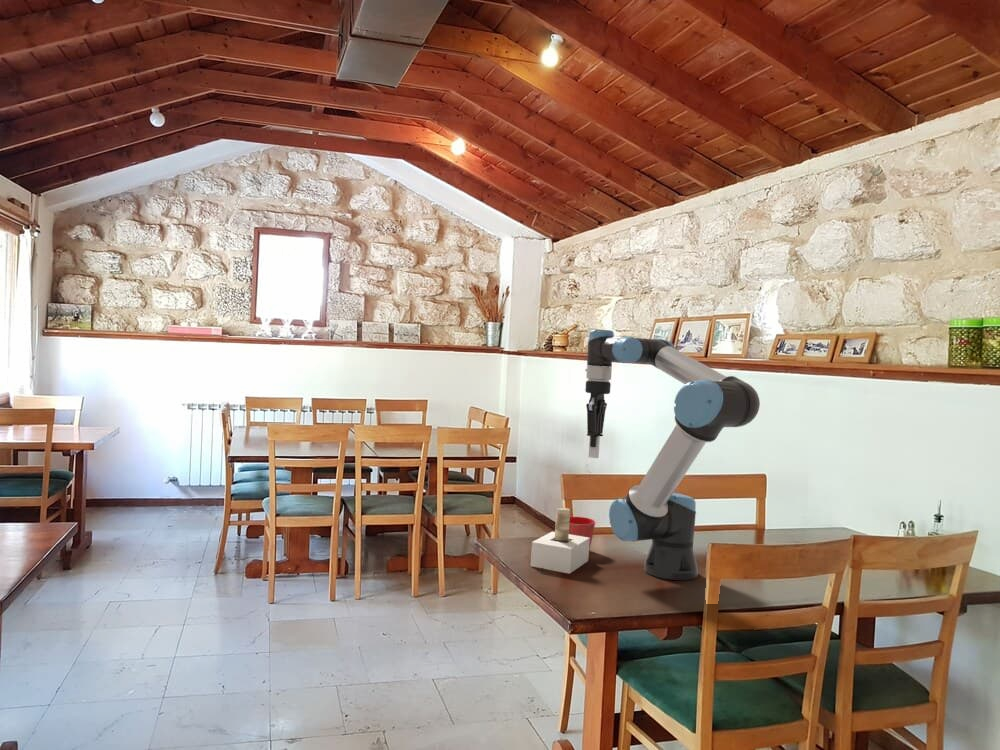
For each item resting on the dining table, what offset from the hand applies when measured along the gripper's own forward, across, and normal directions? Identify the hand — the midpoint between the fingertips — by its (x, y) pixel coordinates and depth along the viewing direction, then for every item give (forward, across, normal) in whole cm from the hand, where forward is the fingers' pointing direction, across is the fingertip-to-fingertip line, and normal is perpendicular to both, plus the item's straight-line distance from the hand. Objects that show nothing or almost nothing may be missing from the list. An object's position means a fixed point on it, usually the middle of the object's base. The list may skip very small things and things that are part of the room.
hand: (593, 457), depth 228 cm
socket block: (+30, +13, -4) cm, 33 cm away
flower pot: (+31, -4, -5) cm, 31 cm away
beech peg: (+28, +13, -4) cm, 31 cm away
